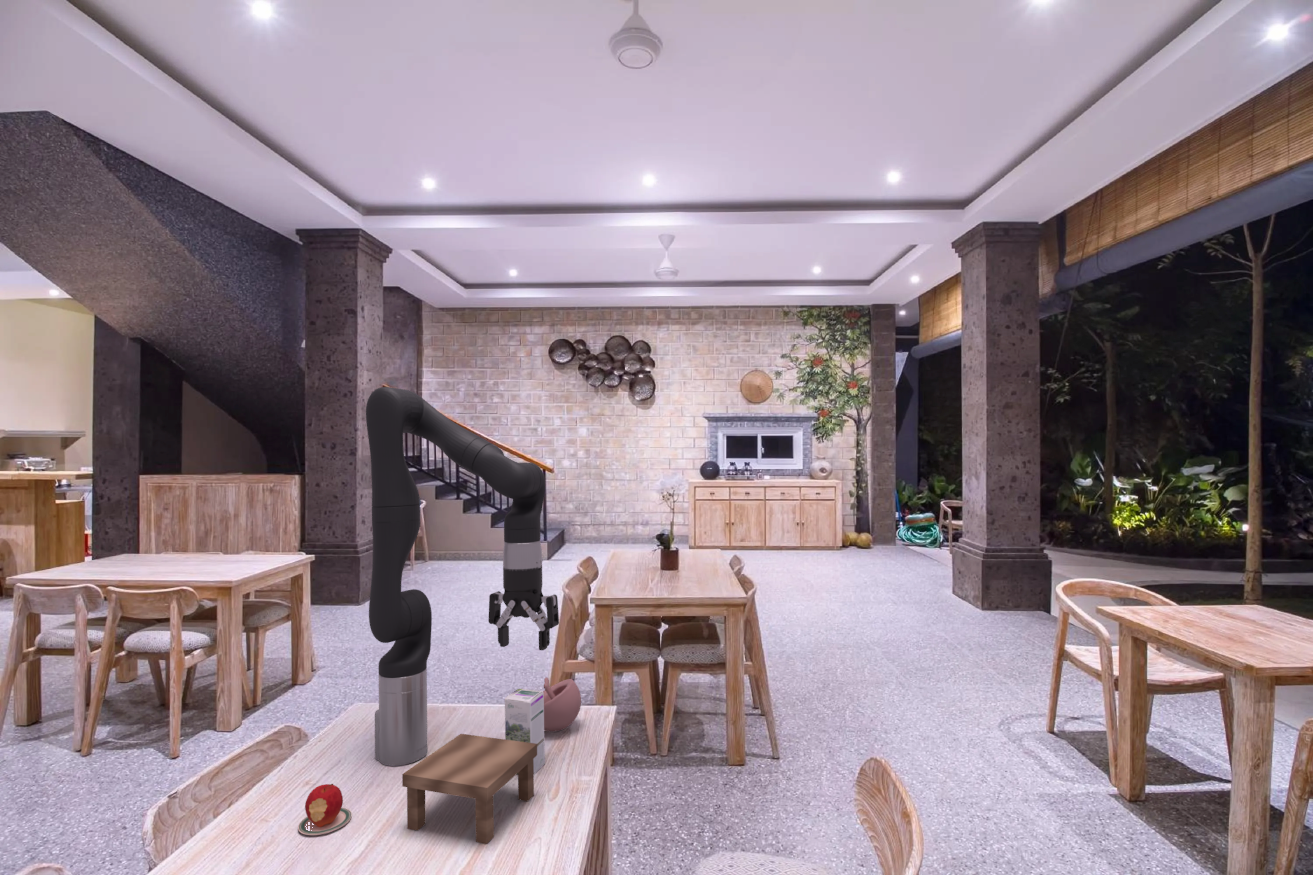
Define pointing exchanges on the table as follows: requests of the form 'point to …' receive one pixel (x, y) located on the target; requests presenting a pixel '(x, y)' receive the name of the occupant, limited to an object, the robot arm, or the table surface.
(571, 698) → the mortar and pestle
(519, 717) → the syrup box
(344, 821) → the apple
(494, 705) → the table surface
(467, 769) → the walnut stool
